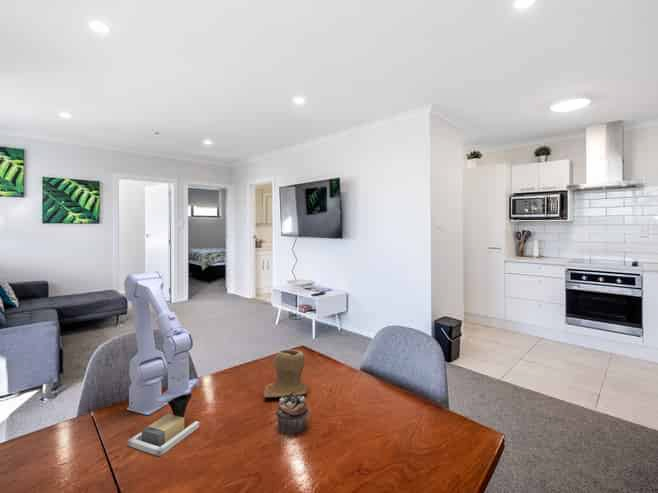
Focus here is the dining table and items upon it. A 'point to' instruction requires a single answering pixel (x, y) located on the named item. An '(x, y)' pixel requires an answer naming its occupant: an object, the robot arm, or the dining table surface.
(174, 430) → the block
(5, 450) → the dining table surface
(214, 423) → the dining table surface
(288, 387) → the stone cup
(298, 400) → the cupcake
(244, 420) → the dining table surface
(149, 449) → the end holder
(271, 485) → the dining table surface
